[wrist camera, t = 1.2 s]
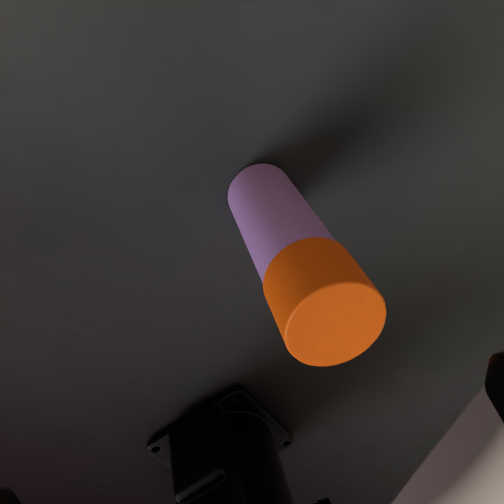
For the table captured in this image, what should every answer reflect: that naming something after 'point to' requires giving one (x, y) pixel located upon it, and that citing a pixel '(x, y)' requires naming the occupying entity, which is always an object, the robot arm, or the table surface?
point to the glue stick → (304, 271)
